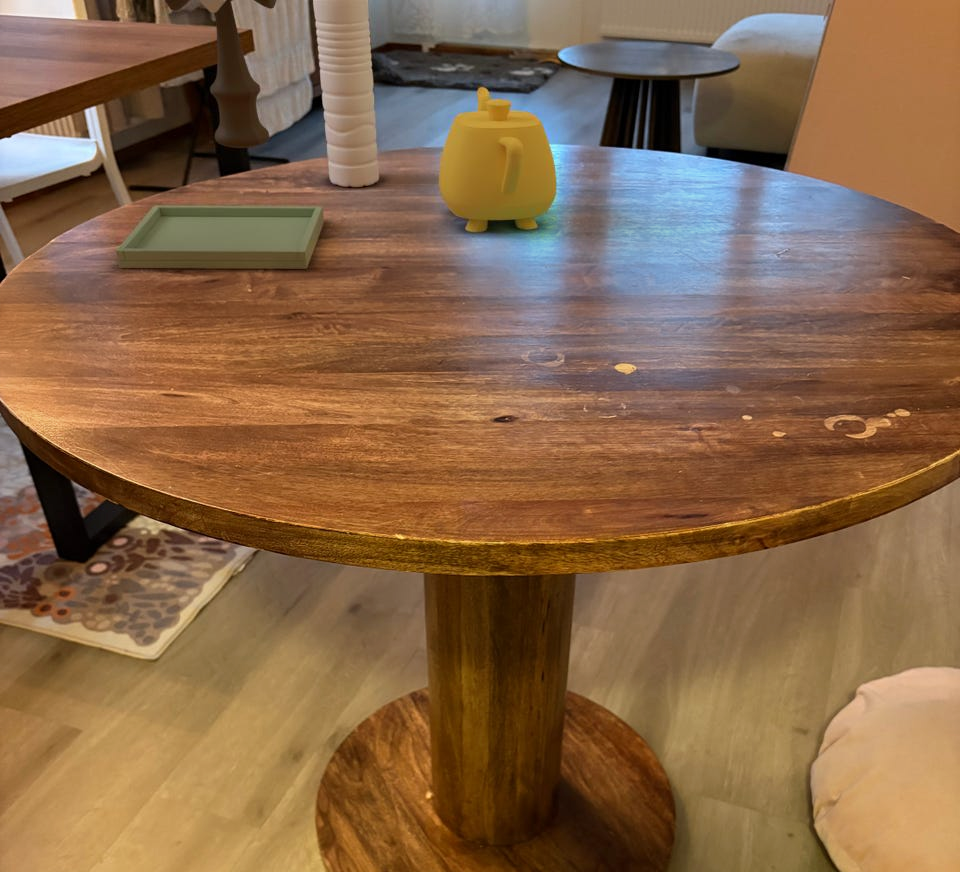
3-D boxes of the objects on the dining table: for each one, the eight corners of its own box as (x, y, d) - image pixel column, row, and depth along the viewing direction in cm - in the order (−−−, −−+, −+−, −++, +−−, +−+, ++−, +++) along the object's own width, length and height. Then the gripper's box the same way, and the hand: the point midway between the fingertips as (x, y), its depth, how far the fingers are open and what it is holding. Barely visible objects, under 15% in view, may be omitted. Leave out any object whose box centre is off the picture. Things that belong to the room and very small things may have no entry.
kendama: (199, 136, 90) (153, -129, 77) (297, 137, 90) (269, -127, 77) (186, 152, 85) (135, -127, 72) (289, 153, 86) (257, -125, 72)
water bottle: (327, 175, 123) (305, -59, 106) (375, 173, 124) (361, -59, 107) (333, 194, 116) (311, -52, 100) (384, 191, 117) (370, -53, 101)
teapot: (530, 190, 118) (534, 79, 110) (571, 241, 103) (579, 117, 95) (427, 195, 116) (424, 82, 108) (454, 248, 101) (452, 122, 93)
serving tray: (119, 268, 96) (115, 250, 94) (157, 221, 107) (153, 205, 106) (307, 269, 96) (305, 251, 95) (324, 222, 108) (322, 206, 106)
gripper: (63, -187, 64) (226, -16, 71) (143, -184, 80) (271, -43, 86) (20, -107, 67) (180, 51, 74) (106, -119, 83) (232, 13, 89)
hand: (230, 0), depth 80 cm, fingers closed on kendama, 5 cm apart
